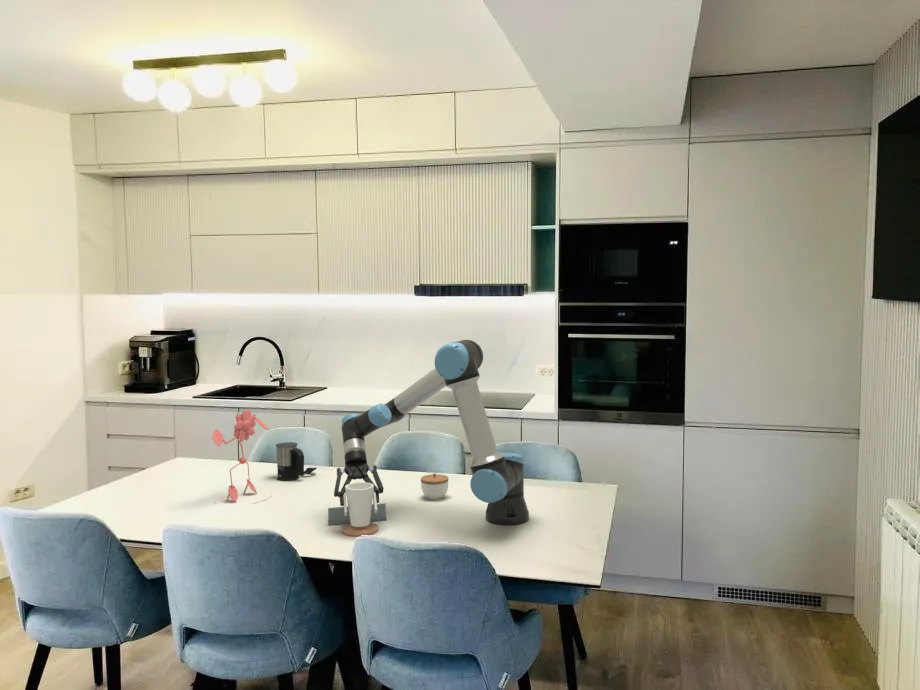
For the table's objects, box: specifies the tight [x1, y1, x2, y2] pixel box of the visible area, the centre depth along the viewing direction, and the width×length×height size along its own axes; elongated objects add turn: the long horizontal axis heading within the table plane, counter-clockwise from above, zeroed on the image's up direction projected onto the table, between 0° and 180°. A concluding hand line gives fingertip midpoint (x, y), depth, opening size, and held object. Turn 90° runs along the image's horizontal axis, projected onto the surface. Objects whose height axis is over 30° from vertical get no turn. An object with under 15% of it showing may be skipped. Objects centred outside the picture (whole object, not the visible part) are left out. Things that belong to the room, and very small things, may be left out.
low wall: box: [327, 502, 388, 526], centre depth 263 cm, size 20×4×5 cm, turn 103°
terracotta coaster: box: [342, 522, 379, 537], centre depth 253 cm, size 12×12×1 cm
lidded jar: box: [420, 472, 449, 501], centre depth 290 cm, size 11×11×9 cm
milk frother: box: [275, 441, 317, 481], centre depth 323 cm, size 14×16×15 cm
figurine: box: [212, 408, 272, 505], centre depth 290 cm, size 15×26×35 cm, turn 153°
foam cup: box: [345, 481, 374, 527], centre depth 252 cm, size 10×9×13 cm
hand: (361, 512), depth 249 cm, fingers closed on foam cup, 9 cm apart
